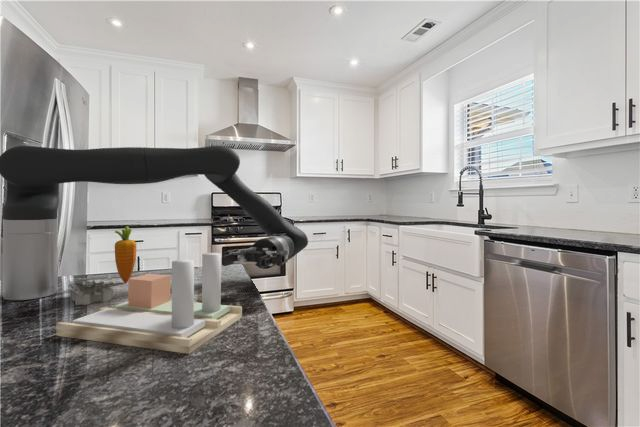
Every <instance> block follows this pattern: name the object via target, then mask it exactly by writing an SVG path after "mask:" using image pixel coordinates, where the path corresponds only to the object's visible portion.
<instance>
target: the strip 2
mask: <svg viewBox="0 0 640 427" xmlns="http://www.w3.org/2000/svg"><path fill="white" fill-rule="evenodd" d="M201 256H202V257H201V258H202V259H201V260H202V261H201V262H202V264H201V266H202V267H201V268H202V269H201V270H202V271H201V302H199V303H197V301H194V317H199V318H208V319H217V318H219V317H221V316H222V315H224V314H226V313H227V312H229V311H230V306H231V305H230V306H228V304H221V303H222V302H221V299H222V294H221V292H222V253H220V252H205V253H202V255H201ZM114 308H115V309H124V310H134V311H143V312H152V313H162V314H171V315H172V299H170V301H169V302H166V303H164V304H161V305H159V306H157V307H154V308H152V309H151V308H141V307H132V306H128V301H124V302H122V303H118V304H116V305H114Z"/></svg>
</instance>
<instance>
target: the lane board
mask: <svg viewBox="0 0 640 427" xmlns="http://www.w3.org/2000/svg"><path fill="white" fill-rule="evenodd" d="M196 302H197V301H196ZM197 303H200V302H197ZM227 305H228V304H227ZM228 306H230V311H229V312H227V313H226V314H224V315H222V316H221V317H219V318H217V319H208V318H199V317H194V319H201V320H205V326H204V327H203V328H201V329H199V330H198V331H196V332H195V333H193V334H191V335H190V336H188V337H178V336H170V335H162V334H154V333H146V332H138V331H130V330H122V329H114V328H106V327H98V326H90V325H82V324H74V323H73V322H66V321H65V322H64V321H59V322H56V336H57V337H65V338H72V339H79V340H84V341H85V340H86V341H93V342H101V343H109V344H114V345H123V346H129V347H137V348H143V349H144V348H145V349H151V350H157V351H158V350H159V351H165V352H173V353H179V354H180V353H181V354H188V355H189V354H191V353H193V352H194V351H195V350H197V349H198V348H200V347H202V346H203V345H205V344H206V343H207V342H208V341H210V340H212V339H213V338H214V337H216V336H217V335H219V334H220V333H221V332H223V331H225V330H226V329H227V328H228V327H230V326H231V325H233V324H234V323H236V322H237V321H239V320H240V319H242V318H243V306H238V305H230V304H229V305H228ZM104 309H109V310H119V311H128V312H137V313H146V314H155V315H164V316H172V315H171V314H162V313H152V312H143V311H134V310H124V309H115V307H106V306H105V307H100V308H98V311H101V310H104Z"/></svg>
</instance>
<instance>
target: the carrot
mask: <svg viewBox="0 0 640 427" xmlns="http://www.w3.org/2000/svg"><path fill="white" fill-rule="evenodd" d="M114 233H116V234H117V235H119V236H120V238H121V240H118V241H116V242H115V243H114V256H115V257H114V259H115V260H114V261H115V265H116V269H117V272H118V275H119V278H120V279H121V280H122V282H123V283H125V284H126V283H127V282H128V279H130V278H132V274H133V272H134V268H135V264H136V260H137V242H136V241H135V240H133V239H130V235H131V234H132V228H130V227H129V226H128V225H127V226H126V225H125V226H124V228H122V229H121V231H119V230H118V229H117V230H114Z"/></svg>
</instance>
